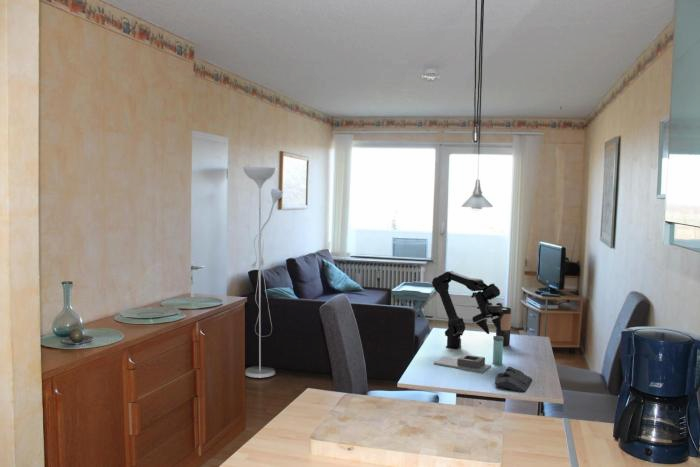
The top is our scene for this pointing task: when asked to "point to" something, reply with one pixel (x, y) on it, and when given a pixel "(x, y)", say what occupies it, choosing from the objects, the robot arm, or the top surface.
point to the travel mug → (505, 326)
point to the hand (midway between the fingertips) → (494, 332)
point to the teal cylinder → (498, 350)
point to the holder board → (454, 364)
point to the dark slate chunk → (513, 380)
